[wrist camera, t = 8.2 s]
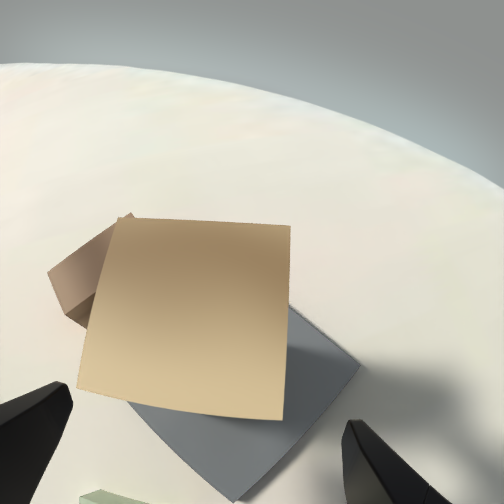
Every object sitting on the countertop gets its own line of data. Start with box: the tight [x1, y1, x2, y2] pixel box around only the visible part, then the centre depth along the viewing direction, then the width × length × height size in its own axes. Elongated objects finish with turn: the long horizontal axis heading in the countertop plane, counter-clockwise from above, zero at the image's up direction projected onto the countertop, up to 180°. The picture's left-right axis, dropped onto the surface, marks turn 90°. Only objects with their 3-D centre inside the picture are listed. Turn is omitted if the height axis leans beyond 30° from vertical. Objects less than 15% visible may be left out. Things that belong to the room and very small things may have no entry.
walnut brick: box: [47, 213, 135, 329], centre depth 20 cm, size 7×4×4 cm, turn 129°
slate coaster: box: [127, 307, 361, 503], centre depth 18 cm, size 11×11×1 cm
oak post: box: [76, 218, 290, 420], centre depth 12 cm, size 4×4×12 cm
